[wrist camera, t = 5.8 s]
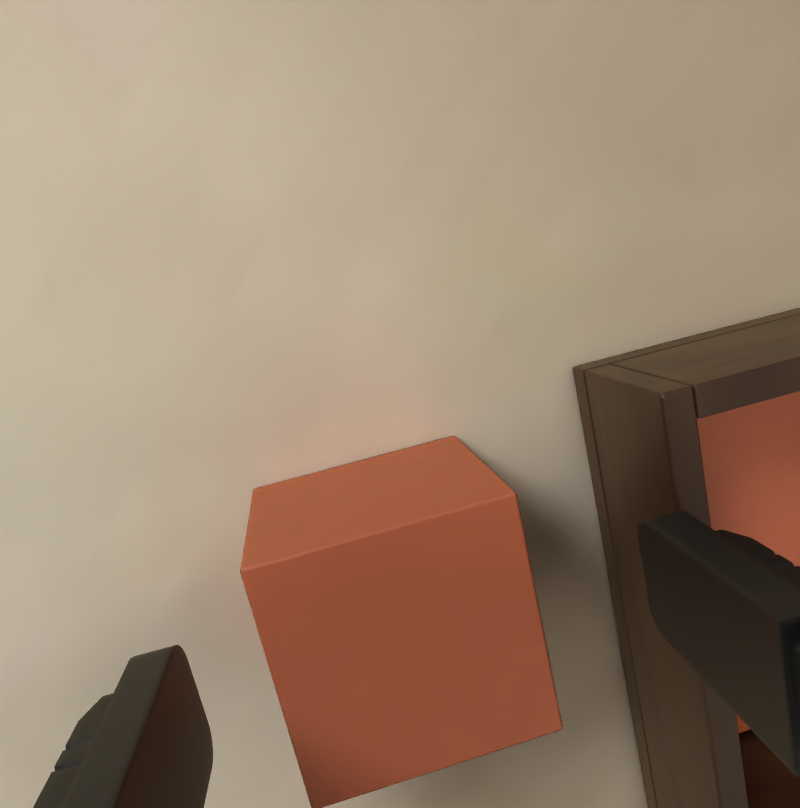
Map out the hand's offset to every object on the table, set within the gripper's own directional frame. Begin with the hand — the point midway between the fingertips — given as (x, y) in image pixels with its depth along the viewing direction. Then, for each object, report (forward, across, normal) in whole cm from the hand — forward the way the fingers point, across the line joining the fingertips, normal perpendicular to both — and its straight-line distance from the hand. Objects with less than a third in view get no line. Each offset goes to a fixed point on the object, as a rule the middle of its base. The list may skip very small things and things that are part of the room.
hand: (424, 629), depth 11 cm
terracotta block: (+3, 0, 0) cm, 3 cm away
